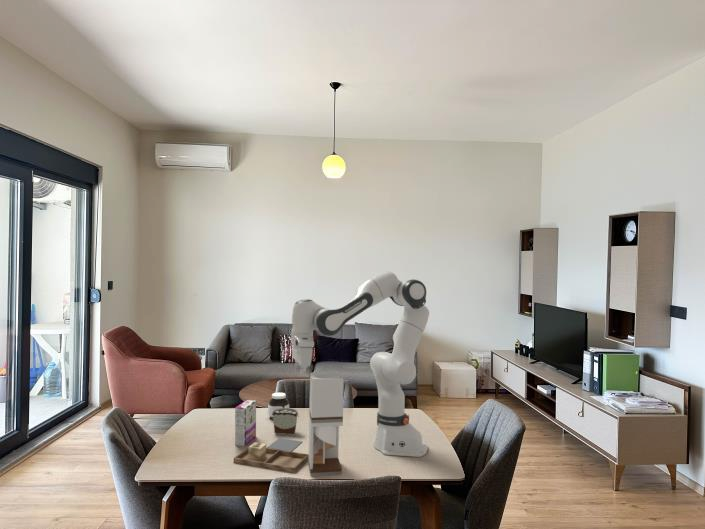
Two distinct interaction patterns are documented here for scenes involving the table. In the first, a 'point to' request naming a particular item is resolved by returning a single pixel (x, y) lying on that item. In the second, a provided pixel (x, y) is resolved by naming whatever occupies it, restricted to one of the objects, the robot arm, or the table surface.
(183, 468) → the table surface
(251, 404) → the candy bar box
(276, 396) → the spread jar
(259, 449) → the maple block
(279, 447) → the gray mat
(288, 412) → the food container
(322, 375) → the display case
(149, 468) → the table surface
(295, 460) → the walnut organizer
